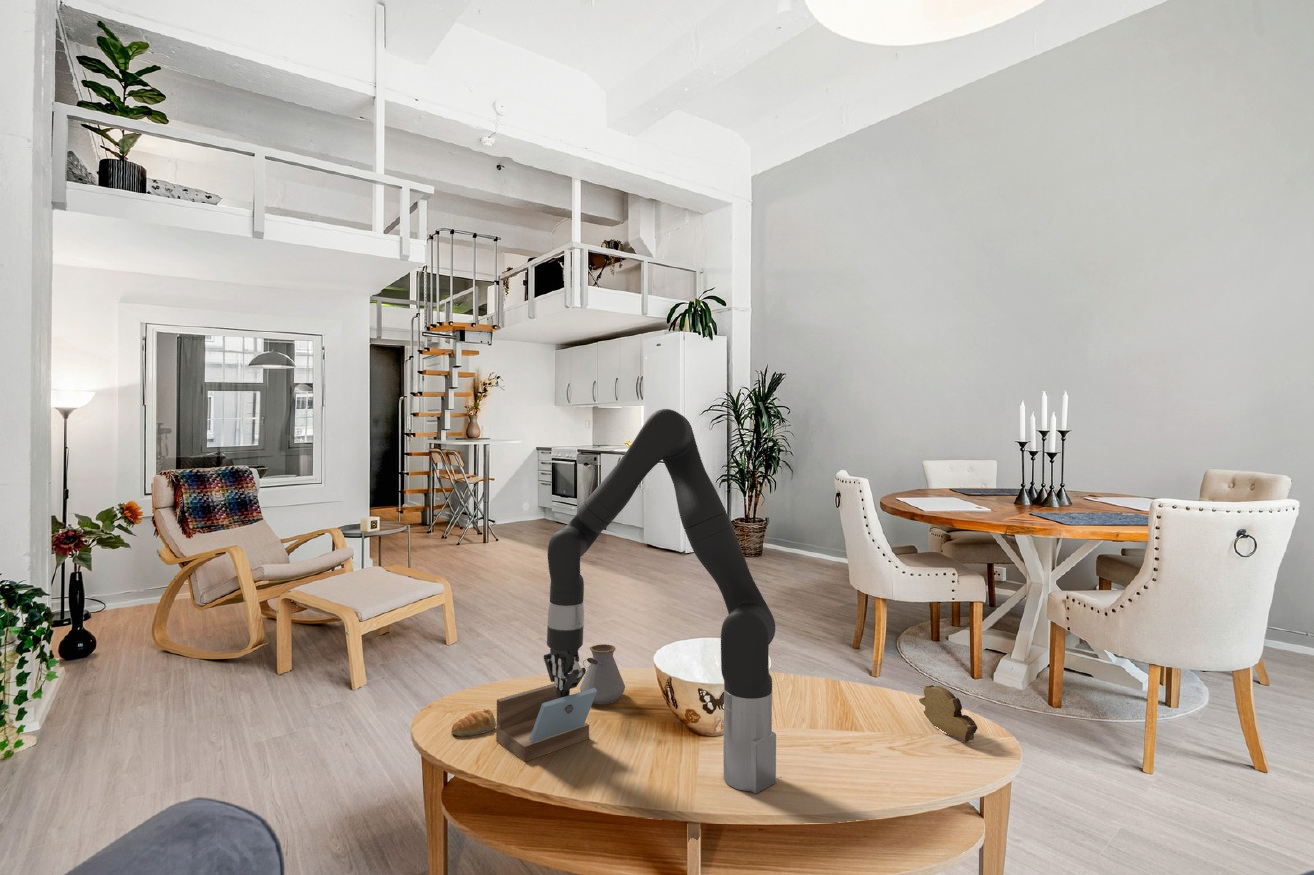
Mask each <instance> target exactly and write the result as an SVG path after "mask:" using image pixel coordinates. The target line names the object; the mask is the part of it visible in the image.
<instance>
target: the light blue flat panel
mask: <svg viewBox="0 0 1314 875" xmlns="http://www.w3.org/2000/svg"><path fill="white" fill-rule="evenodd" d="M596 693H597V690H596V689H595V688H592V689H589V690H585V691H582V692H581V691H579V692H576V693H572V694H570V695H569V696H565V697H562V698H558V699H555V700H552V701H548V702H545V703H542V705H541V708H540V711H539V714H538V716H537V719H536V722H535V725H534V727H533V730H532V733H531V736H530V739H529V740H530V742H531V743H533V742H536V741H539V740H542V739H545V738H548V737H551V736H554V735H557V734H560V733H563V732H566V731H569V730H572V729H574V728H577V727H580V726H583V725H584V723H586V721H587V719H588V715H589V712H590V710H591V708H592V705H593V701H594V698H595V696H596Z"/></svg>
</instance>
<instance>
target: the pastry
mask: <svg viewBox="0 0 1314 875" xmlns="http://www.w3.org/2000/svg"><path fill="white" fill-rule="evenodd" d="M496 726H497V720H496V718H495V716H494V712H493V711H492V710H490V709H489V708H487V709H486V708H484V709H483V710H480V711H474V712H470V713H469V714H467V715H466V716H464V717H463V718H460V719H459V720H458V721H456V722H455V723H453V725H452V727H451V731H450V732H451V733H452V734H453V735H455V736H457V737H467V736H468V737H469V736H477V735H480V734H484V733H487V732H490V731H493V730H495V728H496ZM483 732H484V733H483Z"/></svg>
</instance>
